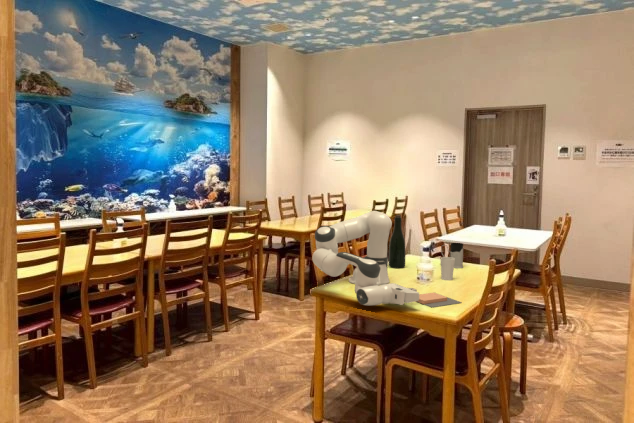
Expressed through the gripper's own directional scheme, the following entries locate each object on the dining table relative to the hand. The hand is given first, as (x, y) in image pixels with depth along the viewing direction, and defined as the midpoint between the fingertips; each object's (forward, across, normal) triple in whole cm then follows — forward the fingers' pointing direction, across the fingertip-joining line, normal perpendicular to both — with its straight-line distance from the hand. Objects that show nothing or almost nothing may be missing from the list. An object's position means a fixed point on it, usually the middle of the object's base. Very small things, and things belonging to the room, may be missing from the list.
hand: (414, 290), depth 236 cm
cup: (+48, -32, -6) cm, 58 cm away
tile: (+2, -1, -5) cm, 6 cm away
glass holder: (+74, -58, -6) cm, 94 cm away
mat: (+12, -1, -6) cm, 13 cm away
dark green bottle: (+42, -72, -6) cm, 83 cm away
